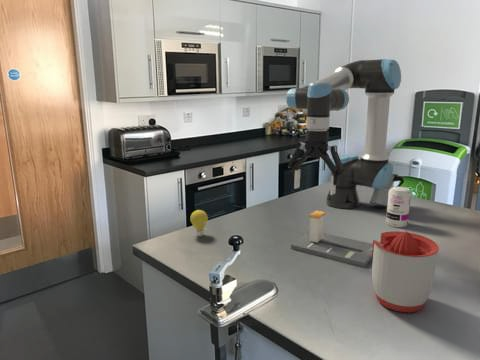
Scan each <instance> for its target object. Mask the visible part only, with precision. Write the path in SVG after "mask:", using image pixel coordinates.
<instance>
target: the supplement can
mask: <svg viewBox="0 0 480 360" xmlns="http://www.w3.org/2000/svg"><path fill="white" fill-rule="evenodd" d="M410 190H411V189H410V188H408V187H405V186H400V187H399V186H398V185H397V186H395V185H394V186H391V189H389V193H388V205H387V206H386V218H385V222H386V224H387V225H388V226H390V227H393V228H399V229H400V228H406V227H407V226H408V224H409V216H410V215H409V213H410V206H411V195H412V192H411V191H410Z"/></svg>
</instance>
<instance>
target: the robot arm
mask: <svg viewBox="0 0 480 360" xmlns="http://www.w3.org/2000/svg"><path fill="white" fill-rule="evenodd" d="M401 72H402V70H401V67H400V64H399V63H398V61H397V60H396V59H389V58H384V59H366V60H365V59H361V60H357V61H353V62H350V63H347V64H344V65H342V66H340V67H338V68H336V69H335V70H334V71H333V73H331V74H329V75H327V76H325V77H322V78H320V79H318V80H315V81H314V82H310V83H309V84H307V85H305V86H303V87H301V88H300V87H293V88H290V89H288V91H287V92H286V97H285V100H286V104H287V106H288V108H290V109H294V110H295V109H296V110H306V123H305V124H306V129H307V130H306V131H305V143H304V142H303V141H300V142H297V143H296V147H295V148H296V149H295V151H294V153H293V154H292V156H291V158H290V161H289V162H288V164H287V168H289V169H292V179H294V182H293V184H294V185H293V189H299V188H300V187H301V186H300V185H301V183H300V182H301V169H299V168H300V167H301V166H302V165H303V164H304V163H305V162H306V161H307V159H308V158H317V159H320V158H321V159H322V160H323V161H324V163H325V164H326V166H327V168H328V169H329V170H330V172H331V173H330V185H329V186H330V187H329V190H328V193H327V196H326V199H325V200H326V201H325V202H326V205H327V206H329V207H332V208H336V209H346V210H347V209H354V208H357V207H359V206H360V198H359V195H358V190H357V186H361V187H366V188H372V189H375V188H379V189H383V188H385V187H386V186H387V185H388V183H389V181H390V179H391V176H392V174H394V173H393V171H394V167H393V166H394V165H393V163H391V162H389V159H390V158H389V156H387V154H386V150H387V149H386V148H387V138H388V127H389V126H388V125H389V124H388V123H389V114H390V102H391V101H390V100H391V97H392V96H393V95H394V94H395V90H397V89H398V88H400V86H401V83H402V73H401ZM349 89H364V94H365V95H366V96H367V98H368V99H367V100H368V101H367V112H366V114H367V115H366V127H365V143H364V153H363V154H362V155H360V157H359V155H358V154H342V155H341V154H340V155H339V152H338V145H336V144H333V145H329V135H330V132H329V129H330V115H331V114H330V112H331V111H337V112H338V111H341V110H344V109H345V108H347V107H348V104H349V102H350V96H349V93H348V92H347V91H346V90H349ZM304 148H305V152H304V153H303V155H302V156H301V157H300V155H301V153H302V151H303V150H304ZM328 150H329V153H330V154H331V157H332V158H330V155H329V154H328ZM299 157H300V158H299ZM359 158H360V159H359Z"/></svg>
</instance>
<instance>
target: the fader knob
mask: <svg viewBox="0 0 480 360" xmlns="http://www.w3.org/2000/svg"><path fill="white" fill-rule="evenodd" d="M325 214H326V212H325V211H321V210H314V211H313V212H311V213H310V214H309V231H310V241H313V242H317V243H318V242H319V241H320V240H321V239H322V238H323V233H324V225H325V224H324V223H325Z"/></svg>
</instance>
